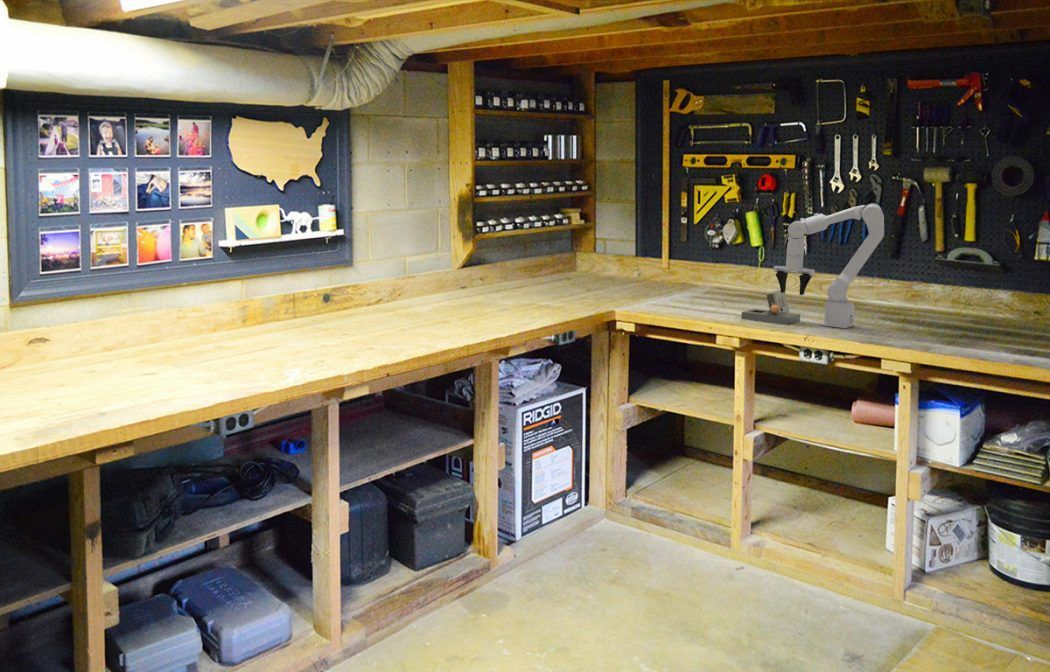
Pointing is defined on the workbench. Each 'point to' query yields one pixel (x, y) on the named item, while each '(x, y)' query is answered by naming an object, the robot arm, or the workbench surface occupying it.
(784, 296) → the electrical switch
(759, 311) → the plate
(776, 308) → the ball
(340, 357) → the workbench surface
